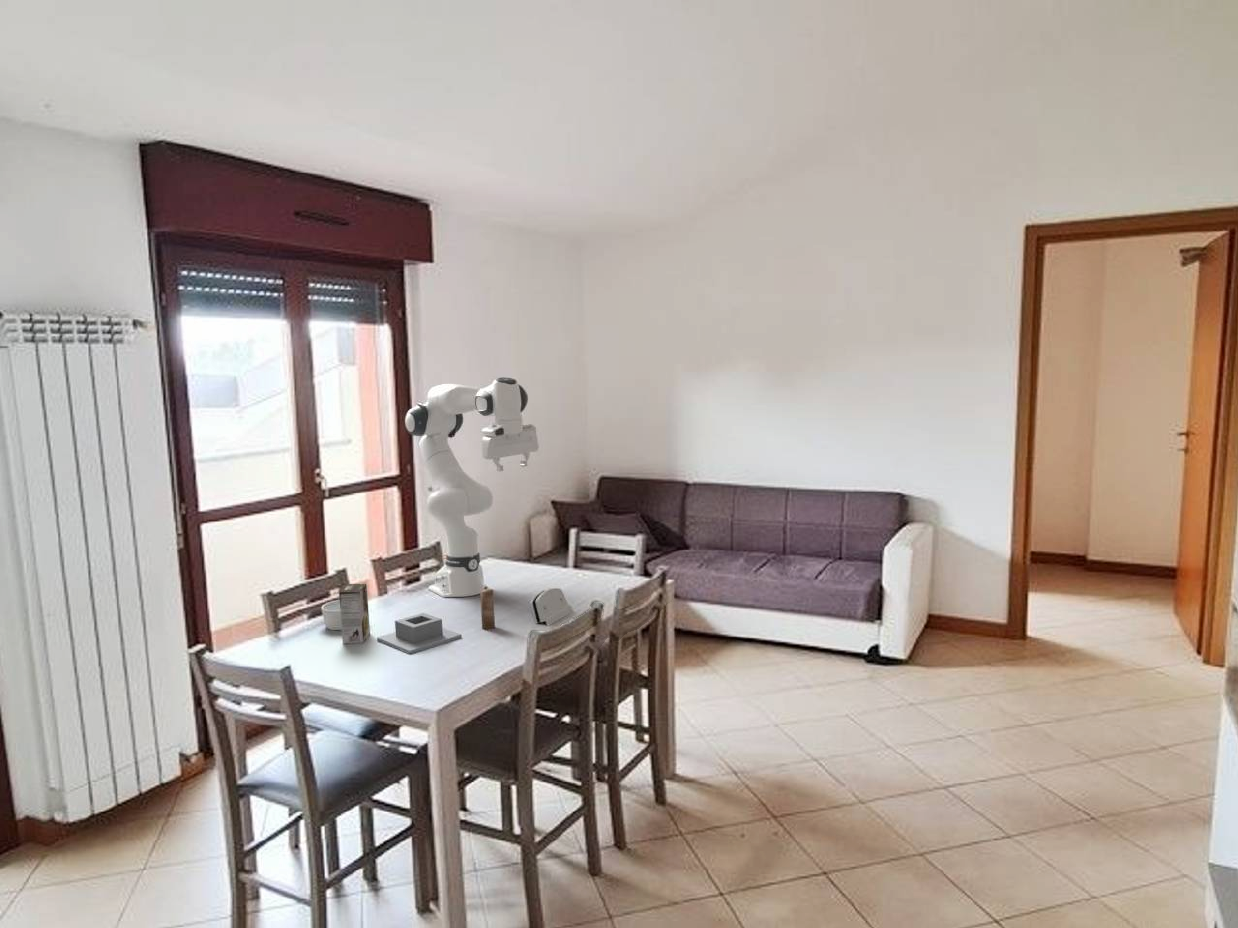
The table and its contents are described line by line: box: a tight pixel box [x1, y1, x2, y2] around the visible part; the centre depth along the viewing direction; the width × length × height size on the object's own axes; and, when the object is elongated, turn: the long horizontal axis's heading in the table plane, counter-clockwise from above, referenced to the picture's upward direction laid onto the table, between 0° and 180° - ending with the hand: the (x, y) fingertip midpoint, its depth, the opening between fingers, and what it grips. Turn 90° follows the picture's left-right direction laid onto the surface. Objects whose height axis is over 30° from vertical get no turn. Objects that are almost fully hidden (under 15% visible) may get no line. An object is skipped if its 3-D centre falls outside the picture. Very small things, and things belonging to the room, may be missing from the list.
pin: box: [479, 588, 496, 631], centre depth 247 cm, size 4×4×12 cm
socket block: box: [376, 612, 463, 654], centre depth 239 cm, size 18×18×6 cm
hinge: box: [529, 588, 573, 626], centre depth 258 cm, size 17×5×10 cm, turn 154°
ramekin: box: [321, 599, 342, 631], centre depth 254 cm, size 13×13×7 cm
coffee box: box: [338, 583, 371, 645], centre depth 240 cm, size 9×6×16 cm
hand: (512, 468), depth 261 cm, fingers open, 8 cm apart
